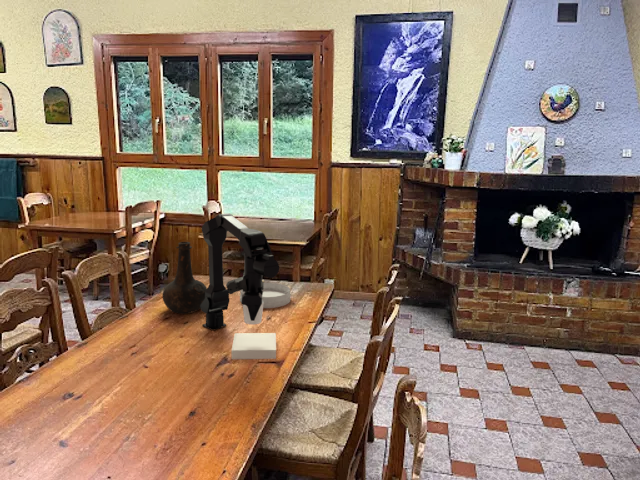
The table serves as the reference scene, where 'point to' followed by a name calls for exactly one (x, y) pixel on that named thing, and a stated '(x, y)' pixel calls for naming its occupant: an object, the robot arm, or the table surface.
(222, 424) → the table surface
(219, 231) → the robot arm
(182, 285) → the glass bottle
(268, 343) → the base block
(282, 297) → the dish
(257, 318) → the white cup
